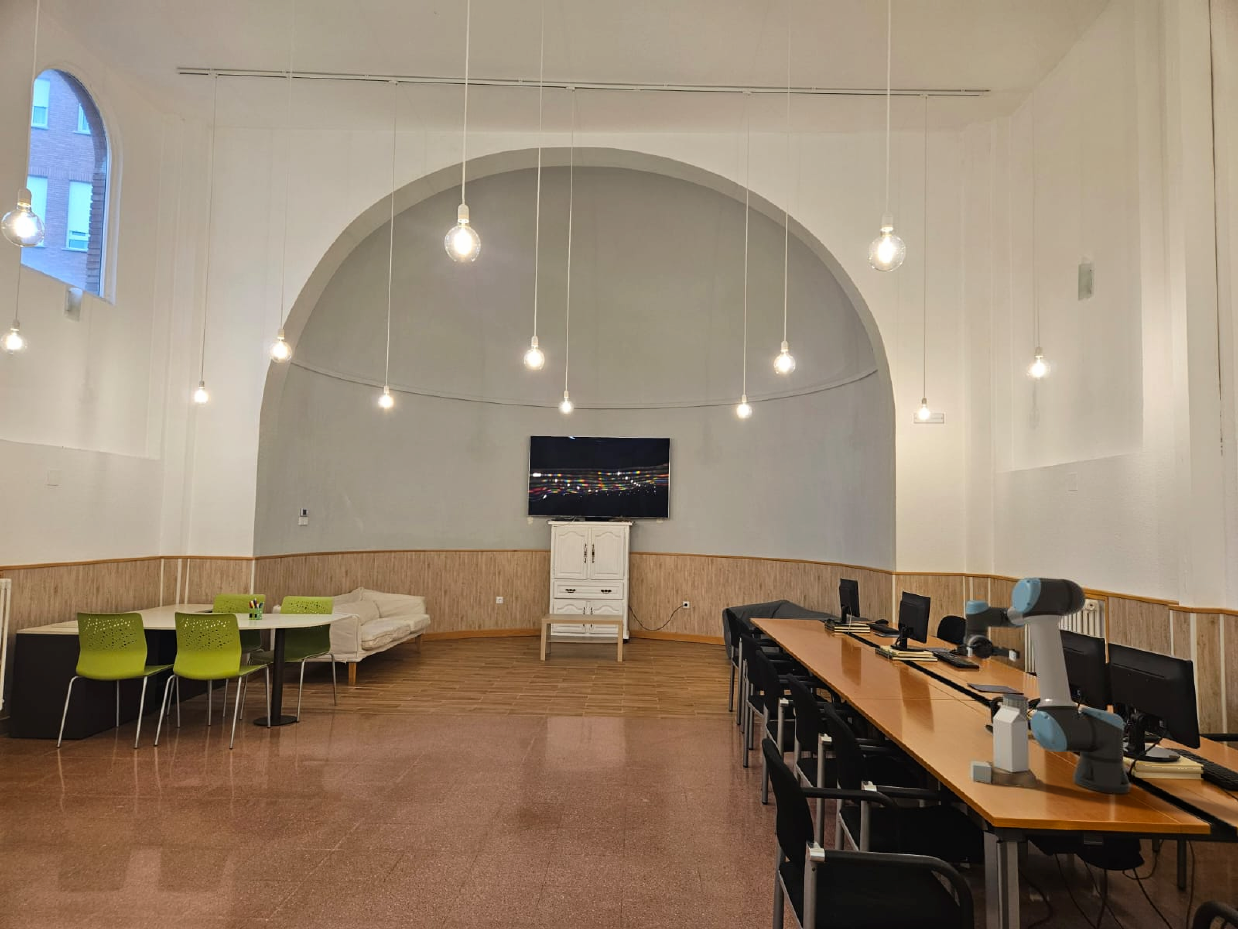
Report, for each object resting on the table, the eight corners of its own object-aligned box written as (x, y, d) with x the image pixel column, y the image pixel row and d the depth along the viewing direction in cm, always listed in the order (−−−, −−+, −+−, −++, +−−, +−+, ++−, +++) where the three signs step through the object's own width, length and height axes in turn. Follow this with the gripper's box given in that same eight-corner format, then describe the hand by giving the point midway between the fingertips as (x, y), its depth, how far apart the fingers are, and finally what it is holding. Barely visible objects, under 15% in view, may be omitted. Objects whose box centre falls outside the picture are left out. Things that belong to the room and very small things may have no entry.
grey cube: (987, 779, 259) (987, 762, 259) (990, 783, 254) (990, 767, 255) (970, 777, 260) (970, 760, 261) (973, 781, 256) (973, 765, 256)
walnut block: (1027, 779, 263) (1027, 766, 263) (1035, 790, 251) (1036, 777, 252) (986, 774, 266) (986, 761, 266) (993, 785, 255) (993, 771, 255)
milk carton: (1012, 773, 254) (1011, 709, 256) (993, 766, 260) (992, 705, 262) (1029, 771, 257) (1027, 708, 258) (1010, 765, 263) (1009, 704, 265)
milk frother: (1029, 735, 321) (1029, 696, 322) (1024, 743, 308) (1025, 702, 309) (989, 728, 328) (990, 690, 330) (983, 736, 315) (984, 696, 316)
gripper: (1018, 660, 295) (1033, 670, 274) (943, 654, 301) (952, 663, 280) (1018, 639, 295) (1033, 647, 275) (944, 633, 301) (953, 641, 281)
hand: (992, 655), depth 277 cm, fingers open, 13 cm apart
